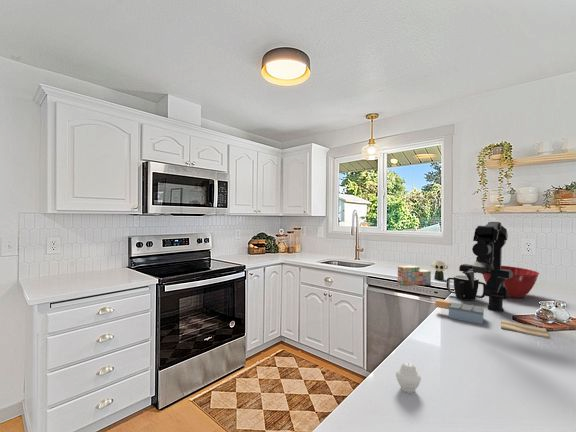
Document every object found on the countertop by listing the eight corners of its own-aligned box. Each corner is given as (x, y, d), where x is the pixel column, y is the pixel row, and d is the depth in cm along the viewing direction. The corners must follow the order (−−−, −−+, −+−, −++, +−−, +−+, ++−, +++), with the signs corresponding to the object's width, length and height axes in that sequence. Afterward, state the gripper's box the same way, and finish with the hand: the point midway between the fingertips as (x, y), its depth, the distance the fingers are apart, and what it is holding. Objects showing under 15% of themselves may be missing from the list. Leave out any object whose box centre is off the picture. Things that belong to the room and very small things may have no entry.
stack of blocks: (424, 282, 206) (424, 265, 206) (430, 285, 200) (431, 266, 200) (397, 284, 200) (397, 265, 200) (403, 286, 194) (403, 267, 194)
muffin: (414, 382, 82) (414, 357, 82) (425, 396, 76) (425, 369, 76) (391, 382, 82) (392, 357, 81) (400, 396, 75) (401, 369, 75)
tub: (451, 312, 143) (451, 304, 143) (483, 318, 135) (483, 309, 135) (448, 317, 136) (448, 308, 135) (482, 324, 128) (483, 315, 128)
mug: (473, 295, 176) (473, 275, 175) (488, 303, 160) (489, 281, 159) (444, 293, 177) (444, 273, 177) (456, 301, 161) (457, 279, 161)
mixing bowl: (552, 302, 165) (553, 274, 165) (499, 300, 165) (500, 273, 165) (514, 289, 193) (515, 265, 193) (469, 288, 194) (470, 264, 193)
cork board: (500, 321, 133) (501, 319, 133) (545, 329, 124) (545, 328, 124) (501, 328, 124) (501, 327, 124) (549, 338, 115) (549, 336, 115)
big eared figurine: (430, 279, 218) (430, 261, 218) (431, 277, 224) (431, 260, 224) (447, 281, 213) (447, 263, 212) (447, 279, 219) (448, 261, 218)
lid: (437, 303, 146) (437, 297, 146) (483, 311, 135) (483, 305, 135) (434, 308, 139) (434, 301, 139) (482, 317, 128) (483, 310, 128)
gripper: (454, 253, 131) (453, 288, 132) (505, 259, 117) (504, 298, 117) (464, 251, 138) (463, 285, 139) (513, 256, 124) (512, 294, 124)
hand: (484, 290), depth 129 cm, fingers open, 9 cm apart
